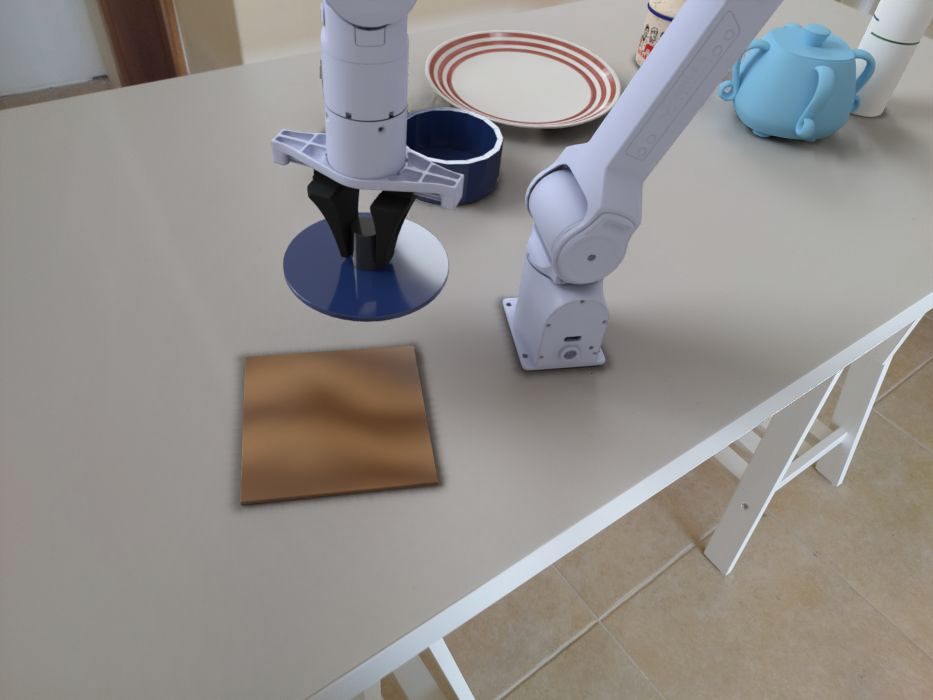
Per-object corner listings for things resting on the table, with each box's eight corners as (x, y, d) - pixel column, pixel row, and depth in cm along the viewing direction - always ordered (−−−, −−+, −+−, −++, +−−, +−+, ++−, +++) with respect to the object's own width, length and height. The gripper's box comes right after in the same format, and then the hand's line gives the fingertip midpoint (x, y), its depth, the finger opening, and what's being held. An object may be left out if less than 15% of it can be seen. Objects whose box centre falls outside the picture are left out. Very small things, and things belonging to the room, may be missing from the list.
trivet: (437, 484, 58) (438, 481, 58) (240, 504, 55) (239, 502, 55) (413, 348, 68) (413, 345, 68) (245, 359, 65) (245, 356, 65)
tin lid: (468, 245, 65) (473, 202, 62) (414, 347, 56) (416, 302, 53) (328, 207, 67) (325, 163, 64) (253, 299, 58) (245, 253, 55)
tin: (507, 203, 86) (513, 162, 82) (399, 206, 83) (400, 165, 79) (486, 145, 94) (490, 106, 90) (387, 147, 92) (388, 107, 88)
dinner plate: (624, 155, 95) (630, 132, 93) (413, 132, 95) (414, 108, 92) (608, 61, 114) (613, 40, 112) (433, 42, 114) (435, 20, 112)
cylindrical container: (872, 95, 114) (964, -84, 96) (889, 118, 109) (990, -67, 91) (827, 91, 114) (911, -90, 96) (843, 114, 109) (934, -72, 91)
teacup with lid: (622, 61, 115) (641, -17, 107) (653, 46, 120) (674, -29, 112) (687, 91, 110) (713, 11, 101) (718, 74, 115) (744, -3, 106)
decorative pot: (789, 166, 97) (836, 66, 87) (697, 111, 106) (731, 14, 96) (858, 136, 105) (908, 41, 95) (767, 87, 113) (805, -5, 103)
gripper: (482, 99, 52) (466, 250, 62) (297, 55, 55) (309, 207, 64) (451, 147, 48) (438, 302, 57) (248, 96, 50) (269, 254, 59)
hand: (367, 255), depth 60 cm, fingers closed on tin lid, 2 cm apart
